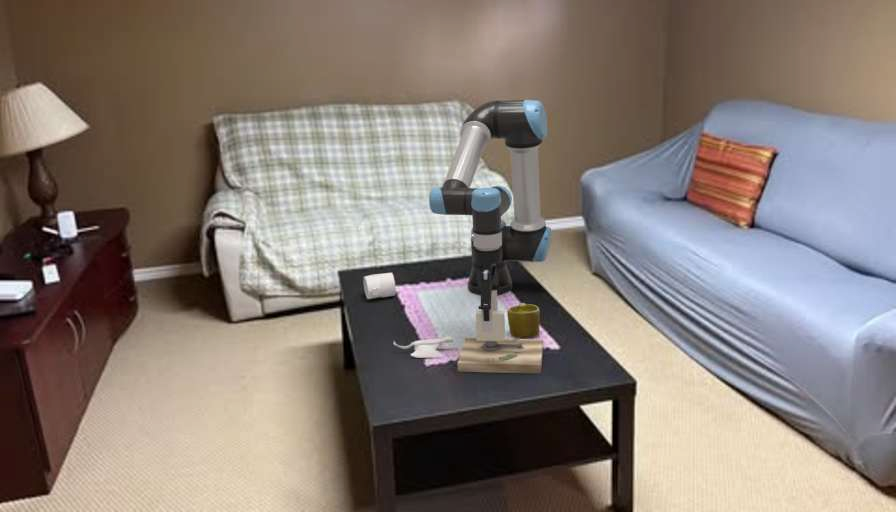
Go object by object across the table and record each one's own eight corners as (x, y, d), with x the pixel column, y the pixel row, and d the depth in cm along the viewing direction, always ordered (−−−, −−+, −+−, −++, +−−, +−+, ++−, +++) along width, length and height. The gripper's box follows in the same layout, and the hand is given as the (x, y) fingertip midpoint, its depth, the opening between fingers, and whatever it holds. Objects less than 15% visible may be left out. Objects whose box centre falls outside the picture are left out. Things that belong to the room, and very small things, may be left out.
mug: (544, 336, 219) (533, 303, 219) (510, 345, 222) (499, 312, 222) (550, 327, 231) (540, 296, 231) (517, 336, 234) (508, 304, 234)
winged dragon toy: (391, 362, 214) (390, 348, 212) (391, 347, 223) (390, 333, 222) (455, 357, 214) (455, 344, 213) (453, 342, 224) (452, 329, 223)
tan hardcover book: (465, 346, 220) (465, 337, 220) (543, 347, 217) (543, 338, 216) (457, 371, 205) (457, 361, 205) (540, 373, 202) (540, 363, 201)
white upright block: (478, 343, 216) (477, 308, 212) (522, 344, 214) (521, 309, 210) (476, 351, 211) (475, 315, 208) (521, 352, 209) (520, 316, 206)
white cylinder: (396, 299, 258) (395, 277, 256) (369, 303, 256) (367, 281, 254) (389, 288, 269) (388, 266, 267) (363, 291, 267) (361, 270, 265)
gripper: (479, 233, 216) (481, 304, 222) (467, 261, 193) (470, 339, 199) (505, 233, 215) (507, 305, 221) (497, 261, 191) (499, 340, 198)
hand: (490, 321), depth 210 cm, fingers open, 13 cm apart
